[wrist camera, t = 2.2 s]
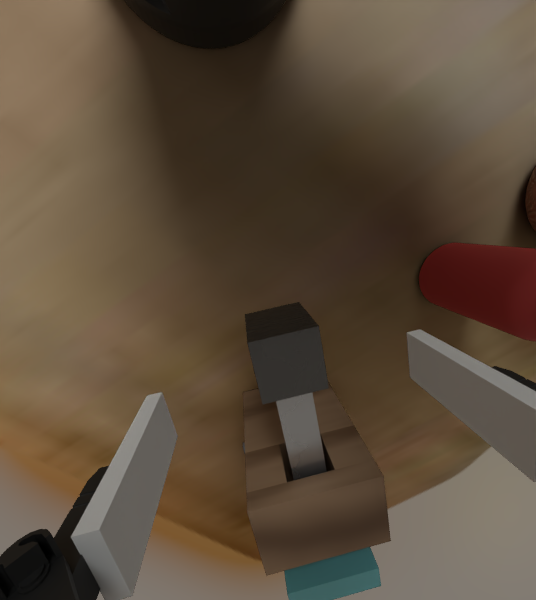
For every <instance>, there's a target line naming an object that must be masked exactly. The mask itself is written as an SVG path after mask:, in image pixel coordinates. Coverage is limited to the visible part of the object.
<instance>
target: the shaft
mask: <svg viewBox="0 0 536 600" xmlns="http://www.w3.org/2000/svg"><path fill="white" fill-rule="evenodd" d="M245 321H246V332H247V343H248V347H249V351H250V355H251V359H252V363H253V367H254V372H255V376H256V380H257V384H258V388H259V392H260V396H261V400H262V404H267V403H271V402H275V401H276V403H277V408H278V412H279V417H280V421H281V425H282V430H283V434H284V439H285V443H286V447H287V452H288V456H289V461H290V465H291V469H292V474H293V478H294V480H298V479H301V478H305V477H309V476H313V475H317V474H320V473H324V472H327V470H326V465H325V459H324V454H323V448H322V443H321V437H320V432H319V426H318V421H317V415H316V410H315V404H314V399H313V393H312V392H316V391H320V390H324V389H328V388H329V386H328V380H327V374H326V368H325V361H324V355H323V349H322V343H321V337H320V331H319V326H318V325H317V323H316V322H315V321H314V320H313V319H312V317H311V316H310V315H309V314H308V312H307V311H306V310H305V309H304V308H303V306H302V305H301V304H300V303H299V302H297V303H293V304H288V305H284V306H280V307H275V308H271V309H266V310H262V311H258V312H253V313H249V314H245Z"/></svg>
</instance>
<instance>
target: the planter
mask: <svg viewBox="0 0 536 600" xmlns="http://www.w3.org/2000/svg"><path fill="white" fill-rule="evenodd" d="M525 202H526V212H527V216H528V219H529V222H530V224H531V226H532V227H533V229H534V230H535V231H536V166H535V168H534V170H533V172H532V175H531V177H530V180H529V183H528V186H527V191H526V200H525Z"/></svg>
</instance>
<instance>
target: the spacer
mask: <svg viewBox="0 0 536 600" xmlns="http://www.w3.org/2000/svg"><path fill="white" fill-rule="evenodd" d="M284 572H285V580H286V586H287V594H288V598H289V600H333V599H337V598H340V597H344V596H347V595H351V594H354V593H358V592H361V591H365V590H368V589H372V588H375V587H379V586H381V582H380V574H379V568H378V565H377V563H376V560H375V558H374V556H373V553H372V551H371V548H370V547H367V548H363V549H360V550H356V551H353V552H349V553H346V554H342V555H338V556H335V557H331V558H328V559H324V560H321V561H317V562H313V563H310V564H306V565H303V566H299V567H295V568H292V569H288V570H285V571H284Z"/></svg>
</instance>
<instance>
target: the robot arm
mask: <svg viewBox="0 0 536 600" xmlns="http://www.w3.org/2000/svg"><path fill="white" fill-rule="evenodd" d="M124 1H125V2H126V3H127V4H128V6H129V7H130V8H131V9H132V10H133V11H134V12H135V13H136V14H137V15H138V16H139V17H140V18H141V19H142V20H143V21H144V22H146V23H147V24H148V25H149V26H151V27H152V28H153V29H155V30H156V31H158V32H159V33H161V34H163V35H164V36H166V37H168V38H170V39H172V40H175V41H177V42H180V43H182V44H186V45H189V46H194V47H200V48H222V47H227V46H232V45H235V44H238V43H240V42H243V41H245V40H247V39H249V38H251V37H252V36H254V35H255V34H257V33H258V32H260V31H261V30H262V29H263V28H265V27H266V26H267V25H268V24H269V23H270V22H271V21H272V19H273V18H274V17H275V16H276V15H277V13H278V12H279V11H280V9H281V8H282V6H283V5H284V3H285V1H286V0H124ZM407 345H408V358H409V372H410V378H411V379H412V380H414V381H415V382H416V383H417V384H418V385H419V386H421V387H422V388H423V389H424V390H425V391H427V392H428V393H429V394H430V395H431V396H433V397H434V398H435V399H436V400H437V401H438V402H440V403H441V404H442V405H443V406H444V407H446V408H447V409H448V410H449V411H450V412H451V413H453V414H454V415H455V416H456V417H457V418H459V419H460V420H461V421H462V422H463V423H464V424H466V425H467V426H468V427H469V428H470V429H472V430H473V431H474V432H475V433H476V434H478V435H479V436H480V437H481V438H482V439H483V440H485V441H486V442H487V443H488V444H489V445H491V446H492V447H493V448H494V449H495V450H496V451H498V452H499V453H500V454H501V455H502V456H504V457H505V458H506V459H507V460H508V461H509V462H511V463H512V464H513V465H514V466H515V467H517V468H518V469H519V470H520V471H521V472H523V473H524V474H525V475H526V476H527V477H529V478H530V479H531V480H532V481H533V482H536V383H534V382H532V381H530V380H528V379H527V380H526V379H525V378H524V377H522V376H520V375H518V374H516V373H514V372H512V371H510V370H506V369H503V368H500V367H496V366H494V367H490V366H488V365H486V364H484V363H482V362H480V361H478V360H476V359H475V358H473V357H471V356H469V355H467V354H465V353H463V352H462V351H460V350H458V349H456V348H454V347H452V346H450V345H448V344H447V343H445V342H443V341H441V340H439V339H437V338H435V337H434V336H432V335H430V334H428V333H426V332H424V331H422V330H421V329H419V330H415V331H411V332H407ZM177 437H178V436H177V433H176V430H175V427H174V424H173V421H172V419H171V416H170V413H169V410H168V407H167V404H166V401H165V399H164V396H163V393H162V392H160V393H156V394H151V395H147V397H146V398H145V400H144V402H143V404H142V406H141V408H140V410H139V411H138V413H137V415H136V417H135V419H134V421H133V423H132V424H131V426H130V428H129V430H128V432H127V434H126V436H125V437H124V439H123V441H122V443H121V445H120V447H119V449H118V450H117V452H116V454H115V456H114V458H113V460H112V462H111V463H110V465H109V466H106V467H102V468H99V469H98V471H97V472H96V473H95V474H94V475H93V476H92V477H91V478H90V479H89V480H88V481H87V483H86V485H85V486H84V488H83V490H82V492H81V493H80V497H78V498H77V500H76V502H75V503H74V505H73V509H71V510H70V512H69V514H68V515H67V517H66V518H65V520H64V522H63V524H62V525H61V527H60V529H59V530H58V532H57V534H56V536H55V537H54V538H53V537H52V535H51V533H50V532H49V531H48V530H47V529H39V530H36V531H34V532H31V533H29V534H27V535H25V536H24V537H22V538H21V539H19V540H17V541H16V542H15V543H14V544H13V545H11V546H10V547H9V548H8V549H7V550H6V551H5V552H4V553H3V554H2V555H1V556H0V600H96V599H97V596H98V594H99V591H100V592H101V594H102V595H103V597H104V599H105V600H120V599H124V598H127V597H131V596H133V592H134V589H135V585H136V582H137V578H138V575H139V571H140V568H141V564H142V561H143V557H144V553H145V550H146V546H147V543H148V539H149V536H150V532H151V529H152V525H153V522H154V518H155V515H156V511H157V508H158V504H159V501H160V497H161V493H162V490H163V486H164V483H165V479H166V476H167V472H168V469H169V465H170V462H171V458H172V455H173V451H174V448H175V444H176V440H177Z"/></svg>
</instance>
